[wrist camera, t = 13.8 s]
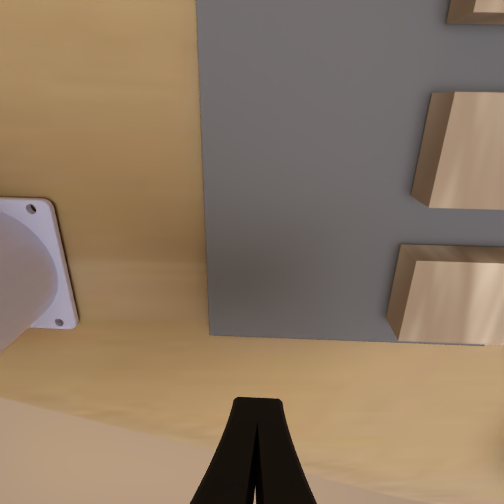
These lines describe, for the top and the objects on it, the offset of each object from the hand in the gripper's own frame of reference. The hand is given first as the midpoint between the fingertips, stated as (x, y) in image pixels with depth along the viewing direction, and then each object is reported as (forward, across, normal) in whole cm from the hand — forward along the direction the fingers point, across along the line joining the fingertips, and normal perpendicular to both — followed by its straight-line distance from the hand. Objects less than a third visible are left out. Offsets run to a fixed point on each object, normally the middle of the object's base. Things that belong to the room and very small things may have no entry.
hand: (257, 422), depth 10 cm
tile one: (+8, -7, 0) cm, 11 cm away
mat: (+10, -5, -7) cm, 13 cm away
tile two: (+8, -7, -7) cm, 13 cm away
